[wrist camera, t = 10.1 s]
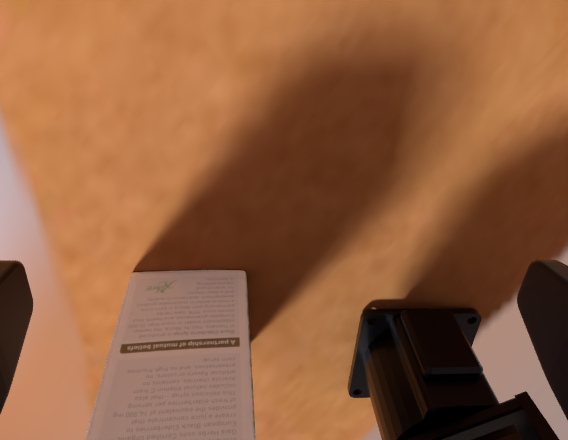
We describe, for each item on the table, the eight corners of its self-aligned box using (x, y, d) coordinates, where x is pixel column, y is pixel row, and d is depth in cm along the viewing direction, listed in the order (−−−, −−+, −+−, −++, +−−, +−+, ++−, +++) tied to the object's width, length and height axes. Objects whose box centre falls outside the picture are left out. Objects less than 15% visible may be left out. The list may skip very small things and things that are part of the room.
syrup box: (127, 269, 24) (8, 653, 11) (251, 266, 24) (266, 630, 12) (141, 353, 27) (60, 730, 14) (251, 349, 27) (263, 709, 15)
